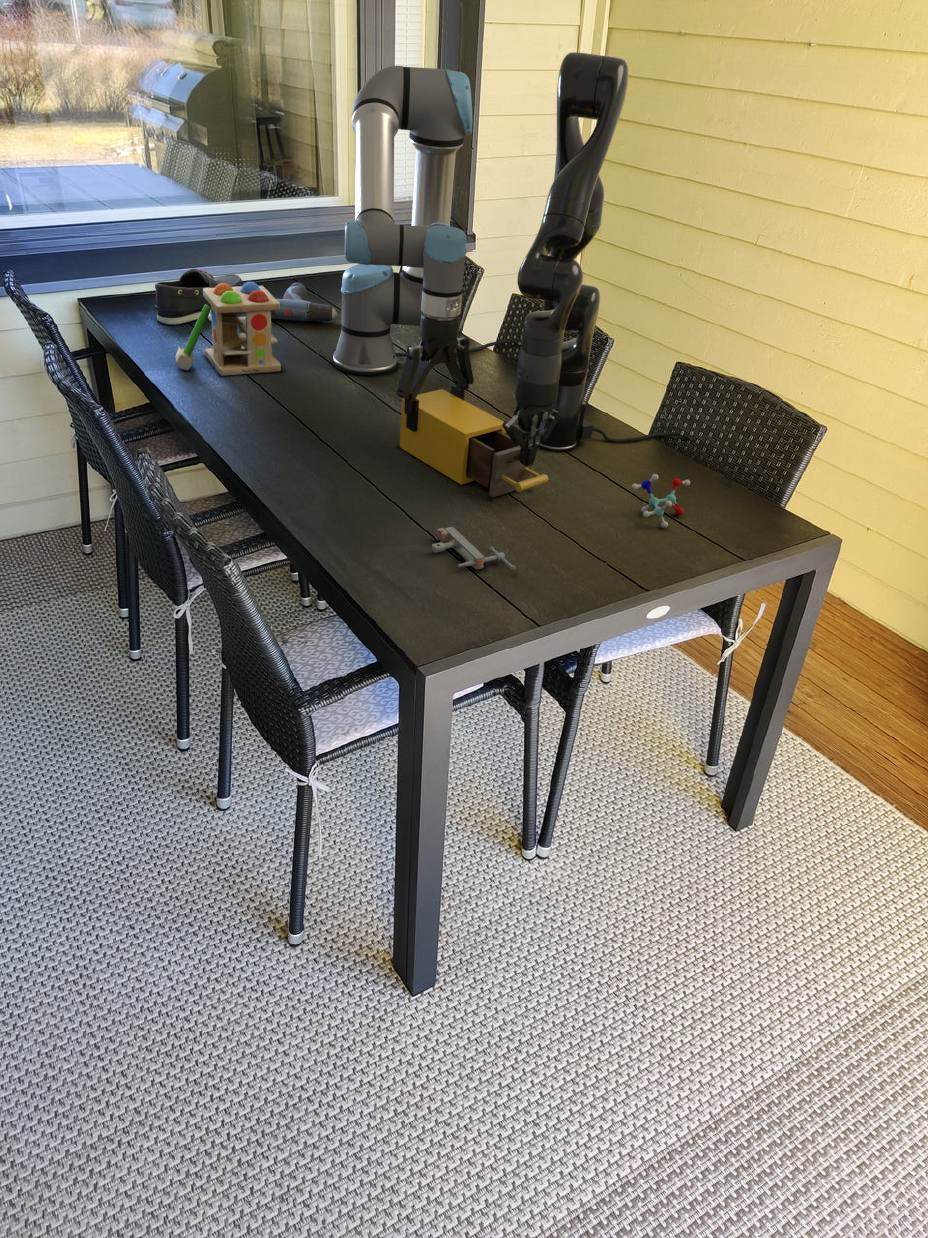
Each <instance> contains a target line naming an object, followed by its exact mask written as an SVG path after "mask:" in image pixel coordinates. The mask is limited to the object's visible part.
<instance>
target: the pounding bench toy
mask: <svg viewBox="0 0 928 1238" xmlns="http://www.w3.org/2000/svg"><path fill="white" fill-rule="evenodd" d="M203 296H204V297H205V299H206V300H207V301H208V302H209V304H210V305H211V307H210V306H208V305H204V307H203V309H202V311H201V314H200V316H199V318H198V319H196V322H195V324H194V327H193V329H192V331H191V332H190V333H191V334H190V336H189V338H188V340H187V343H186V344H185V347H184V348H182V347H180V346H179V347H178V349H177V351H176V354H175V357H174V358H175V362H176V365H177V366H178V368H179V369H182V370H185V371H189V370H190V369H191V367H192V365H193V363H194V356H193V351H194V348H195V347H196V345H197V342H198V340H199V337H200V336H201V333H202V332H203V329H204V326H205V325H206V322H207V320H209V321H210V322H211V336H212V337H211V338H212V339H211V340H212V348H205V349H204V352H205V353H204V355H205V357H206V359H208V361H209V363H210V364H211V365H212V366H213V367H214V369H215V370H216V371H217V372H218V374H219V375H220V376H222V377H223V376H234V375H235V376H236V375H246V374H247V375H250V374H262V373H275V372H281V370H282V364H281V363H280V362H279V360H278V359H277V358H276V357H275V356H274V355H273V348H272V347H273V345H272V344H276V343H278V342H279V341H278V339H277V338H276V337H275V336H274V334H272V318H271V310H280V303H279V302H278V301H277V300H276V299H277V298H276V297H274V296H273V295H272V294H271V293H270V292H269V290H268V289H267V288H266V287H264V285H259V284H257V283H256V282H255V281H247V282H245V283H244V285H243V286H242V287H231V286H230V285H228V284H226V283H221V284H218V285H217V286H216V287H215V288H204V289H203ZM210 310H211V313H209V312H210ZM238 313H244V314H245V315H244V316H238ZM238 329H239V331H240V333H239V334H238Z"/></svg>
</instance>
